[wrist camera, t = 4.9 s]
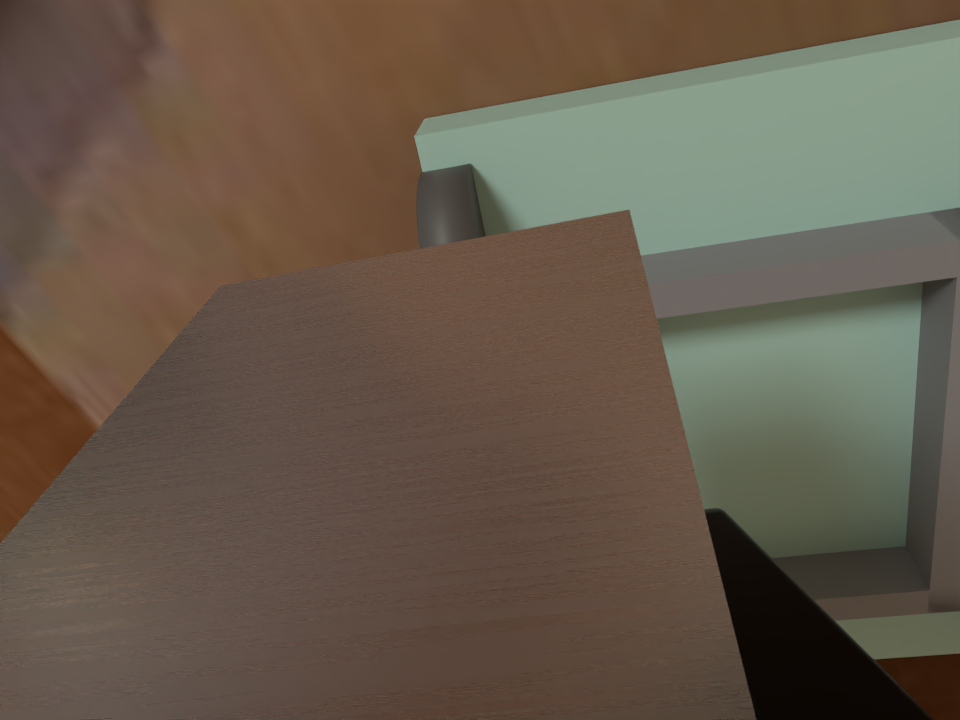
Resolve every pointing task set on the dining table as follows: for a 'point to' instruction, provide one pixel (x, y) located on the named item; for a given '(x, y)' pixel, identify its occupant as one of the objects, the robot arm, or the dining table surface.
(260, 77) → the dining table surface
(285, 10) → the dining table surface
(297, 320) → the white block
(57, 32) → the dining table surface
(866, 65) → the chassis
